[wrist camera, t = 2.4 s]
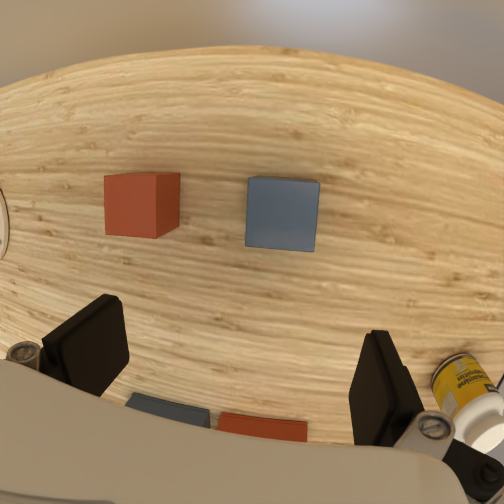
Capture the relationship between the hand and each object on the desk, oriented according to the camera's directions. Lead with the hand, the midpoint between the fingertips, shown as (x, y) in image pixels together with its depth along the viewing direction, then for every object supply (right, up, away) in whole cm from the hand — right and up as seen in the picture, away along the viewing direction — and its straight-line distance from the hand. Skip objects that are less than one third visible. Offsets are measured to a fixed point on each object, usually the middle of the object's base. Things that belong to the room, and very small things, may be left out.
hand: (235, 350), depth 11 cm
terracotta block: (-8, +9, +17) cm, 21 cm away
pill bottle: (+24, -11, +18) cm, 32 cm away
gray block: (+3, +7, +15) cm, 18 cm away
